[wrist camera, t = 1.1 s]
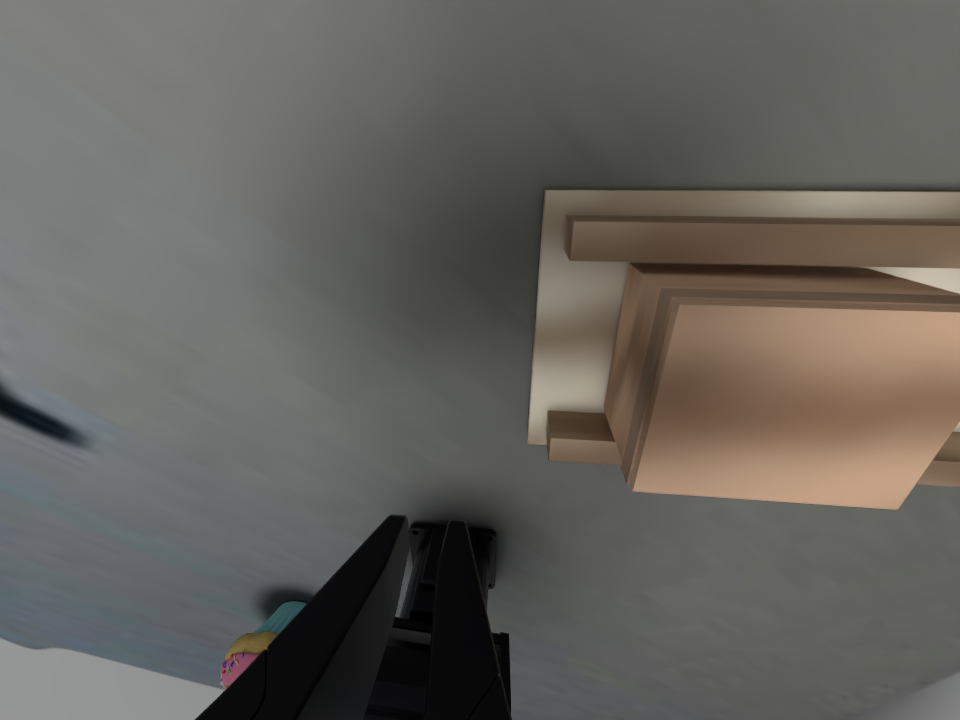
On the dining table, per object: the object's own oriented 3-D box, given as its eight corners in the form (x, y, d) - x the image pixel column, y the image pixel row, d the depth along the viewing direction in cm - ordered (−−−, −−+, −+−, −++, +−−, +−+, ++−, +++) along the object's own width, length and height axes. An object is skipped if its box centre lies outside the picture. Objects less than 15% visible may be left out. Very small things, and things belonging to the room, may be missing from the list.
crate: (797, 420, 20) (899, 511, 15) (601, 410, 21) (629, 492, 15) (869, 265, 16) (1041, 311, 11) (627, 260, 17) (677, 301, 12)
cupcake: (363, 623, 35) (296, 820, 25) (312, 649, 38) (233, 834, 28) (289, 575, 33) (178, 770, 22) (241, 607, 36) (124, 792, 25)
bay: (1063, 464, 21) (1173, 524, 17) (527, 433, 24) (528, 480, 20) (1312, 192, 15) (1563, 199, 11) (544, 189, 17) (551, 193, 14)
